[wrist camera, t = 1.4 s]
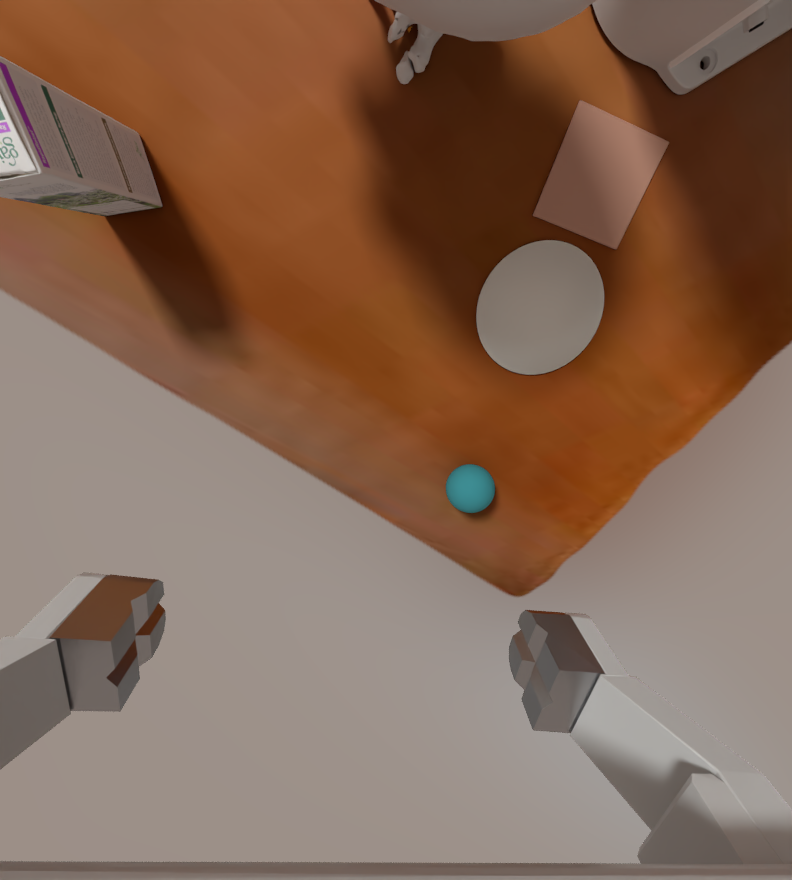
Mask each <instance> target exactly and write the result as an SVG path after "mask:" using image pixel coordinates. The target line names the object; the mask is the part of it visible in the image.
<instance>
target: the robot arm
mask: <svg viewBox="0 0 792 880" xmlns="http://www.w3.org/2000/svg"><path fill="white" fill-rule="evenodd" d="M592 5H593V8H594V11H595V14H596V17H597V19H598V22H599V24H600V26H601V28H602V29H603V31H604V33H605V35H606V36H607V37H608V39H609V40H610V41H611V43H612V44H613V45H614V46H615V47H616V48H617V49H618V50H619V51H620V52H622V53H623V54H624V55H626V56H627V57H629V58H631V59H632V60H634V61H637V62H639V63H642V64H644V65H647V66H649V67H651V68H653V69H654V70H655V71H657V73H658V74H659V75H660V77H661V78H662V80H663V81H664V82H665V84H666V85H667V86H668V87H669V88H670V89H671V90H672V91H673V92H674V93H676V94H679V95H682V94H686V93H688V92H690V91H691V90H693V89H695V88H696V87H698V86H700V85H701V84H703V83H704V82H706V81H708V80H709V79H711V78H713V77H714V76H716V75H717V74H719V73H721V72H722V71H724V70H725V69H727V68H729V67H730V66H732V65H734V64H735V63H737V62H738V61H740V60H742V59H743V58H745V57H746V56H748V55H750V54H751V53H753V52H755V51H756V50H758V49H759V48H761V47H763V46H764V45H766V44H767V43H769V42H771V41H772V40H774V39H776V38H777V37H779V36H780V35H782V34H784V33H785V32H787V31H788V30H790V29H792V0H596V1H595V2H593V3H592ZM700 61H702V62H703V63H704V68H703V70H702V69H701V68H700ZM163 595H164V588H163V582H162V581H160V580H155V579H147V578H137V577H128V576H119V575H104V574H94V573H82V574H80V575H77V576H76V577H74V579H73V580H71V582H69V583H68V584H67V585H66V587H65V588H63V589H62V590H61V591H60V592H59V593H58V594H57V595H56V596H55V597H54V598H53V599H52V600H51V601H50V602H49V603H48V604H47V605H46V606H45V607H44V608H43V609H42V610H41V611H40V612H39V613H38V614H37V615H36V616H35V617H34V618H33V619H32V620H31V621H30V622H29V623H28V624H27V625H26V626H25V627H24V628H23V629H22V630H21V631H20V632H19V633H18V634H17V635H16V636H15V637H11V636H5V637H3V638H1V639H0V769H2V768H3V767H4V766H5V765H7V764H8V763H9V762H10V761H12V760H13V759H14V758H15V757H17V756H18V755H19V754H20V753H21V752H23V751H24V750H25V749H27V748H28V747H29V746H31V745H32V744H33V743H34V742H36V741H37V740H38V739H39V738H41V737H42V736H43V735H44V734H46V733H47V732H48V731H50V730H51V729H52V728H53V727H55V726H56V725H57V724H58V723H60V722H61V721H62V720H63V719H65V718H66V717H67V716H69V715H70V714H71V711H119V712H120V711H121V709H122V708H123V706H124V704H125V703H126V701H127V699H128V698H129V696H130V694H131V693H132V691H133V689H134V687H135V686H136V684H137V682H138V681H139V679H140V676H139V666H141V665H142V664H143V663H145V662H146V661H148V660H150V659H151V658H152V657H153V655H154V653H155V651H156V649H157V648H158V646H159V643H160V640H161V637H162V635H163V632H164V627H165V620H166V617H165V610H164V609H163V607H162V606H161V605H160V604H159V601H160V599H161V598H162V597H163ZM518 624H519V626H520V628H521V630H520V631H519V632H518V633H517V634H515V635H514V636H513V637H512V640H511V643H510V646H509V662H510V667H511V671H512V674H513V677H514V680H515V681H516V682H517V683H518V684H519V685H520V686H521V687H522V688H523V689H524V693H523V697H522V702H523V705H524V707H525V710H526V713H527V715H528V718H529V721H530V724H531V726H532V729H533V730H537V731H550V732H562V733H571V734H570V736H571V737H572V738H573V739H574V740H575V742H576V743H577V744H578V745H579V746H580V748H581V749H582V750H583V751H584V752H585V753H586V755H587V756H588V757H589V758H590V759H591V760H592V762H593V763H594V764H595V765H596V766H597V767H598V768H599V770H600V771H601V772H602V773H603V774H604V776H605V777H606V778H607V779H608V780H609V781H610V783H611V784H612V785H613V786H614V787H615V788H616V789H617V791H618V792H619V793H620V794H621V795H622V797H623V798H624V799H625V800H626V801H627V802H628V804H629V805H630V806H631V807H632V808H633V809H634V811H635V812H636V813H637V814H638V815H639V816H640V817H641V819H642V820H643V821H644V822H645V823H646V825H647V826H648V827H649V828H650V829H651V830H652V831H651V833H650V834H649V835H648V837H647V838H646V840H645V841H644V842H643V844H642V845H641V847H640V849H639V852H638V858H639V860H640V863H641V864H595V863H579V864H578V863H573V864H572V863H341V862H340V863H339V862H336V863H334V862H331V863H330V862H323V863H322V862H313V863H312V862H23V861H21V862H20V861H18V862H16V861H14V862H13V861H7V862H6V861H0V880H792V809H791V808H790V807H789V806H788V804H787V803H786V802H785V800H784V799H783V798H782V797H781V795H780V794H779V793H778V792H777V790H776V789H775V788H774V787H773V785H772V784H771V783H770V782H769V780H768V779H767V778H766V777H765V775H764V774H763V773H761V772H760V771H759V770H757V769H756V768H755V767H753V766H752V765H751V764H750V763H748V762H747V761H746V760H744V759H743V758H742V757H740V756H739V755H738V754H736V753H735V752H734V751H733V750H731V749H730V748H729V747H727V746H726V745H725V744H723V743H722V742H720V741H719V740H718V739H717V738H716V737H714V736H713V735H711V734H710V733H709V732H707V731H706V730H705V729H704V728H702V727H701V726H700V725H698V724H697V723H696V722H695V721H693V720H692V719H691V718H689V717H688V716H687V715H685V714H684V713H683V712H681V711H680V710H679V709H677V708H676V707H675V706H673V705H672V704H671V703H670V702H668V701H667V700H666V699H664V698H663V697H662V696H660V695H659V694H658V693H657V692H655V691H654V690H652V689H651V688H650V687H649V686H647V685H646V684H645V683H643V682H642V681H641V680H639V679H638V678H637V677H633V676H629V675H628V673H627V672H626V670H625V669H624V667H623V666H622V664H621V663H620V661H619V660H618V658H617V657H616V655H615V654H614V652H613V651H612V649H611V648H610V646H609V645H608V643H607V642H606V640H605V639H604V637H603V636H602V634H601V633H600V631H599V630H598V628H597V627H596V625H595V624H594V622H593V621H592V619H591V618H590V617H589V616H587V615H586V614H576V613H560V612H546V611H532V610H525V611H524V612H523V613H522V614H521V615H520V618H519V621H518Z"/></svg>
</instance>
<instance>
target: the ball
mask: <svg viewBox="0 0 792 880" xmlns="http://www.w3.org/2000/svg"><path fill="white" fill-rule="evenodd" d="M446 493H447V497H448V499H449V501H450V502H451V504H452V505H453V506H454V507H455V508H457V509H458V510H460V511H463V512H466V513H476V512H479V511H482V510H483V509H485V508H486V507H487V506H488V505H489V504H490V503H491V502H492V500H493V497H494V494H495V484H494V481H493V478H492V477H491V475H490V474H489V473H488V472H487V471H486V470H485V469H484V468H482V467H480V466H477V465H473V464H467V465H462V466H460V467H458V468H456V469H455V470H454V471H453V472H452V473H451V474H450V475H449V477H448V480H447V483H446Z"/></svg>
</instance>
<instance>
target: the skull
mask: <svg viewBox="0 0 792 880" xmlns="http://www.w3.org/2000/svg"><path fill="white" fill-rule="evenodd" d="M374 1H376V2H378V3H380V4H383V5H384V6H386V7H388V8H390V9H392V10H395V11H397V12H396V14H395V20H394V23H393V24H392V25H391V26H390V29H389V32H388V42H389V43H392V42H393V41H394V40H397V39H399V38H400V37H403V35H404V32H405V31H406V29H408V32H409V31H410V30H411V27H409V26H410V25H412V24H417V25H418V36H417V39H416V41H415V42H414V45H413V46H411V49H410V51H406V52H405V53H404V56H403V58H402V59H401V61H400V63H399V64H398V65H397V67H396V74H397V78H398V80H399V81H400V82H401V83H402V84H408V83H409V81H410V80H411V79H412V78H413V76H414V71H413V67H412V64H411V61H412V63H413V66H414V70H415V72H416V73H421V72H423V71H424V70H425V67H426V65H427V64H428V62H429V59H430V55H431V52H432V49H433V47H434V45H435V44H436V42H437V41H438V40H439V38H440V37H441V36H442V35H443V34H448V35H453V36H457V37H461V38H464V39H467V40H470V41H505V40H512V39H517V38H520V37H525V36H530V35H535V34H539V33H542V32H544V31H546V30H549V29H551V28H553V27H555V26H557V25H559V24H561V23H563V22H564V21H566V20H568V19H570V18H572V17H574V16H576V15H578V14H579V13H581V12H582V11H583V10H584V9H586V8H587V7H588V6H589V5H591V4H592V3H593V2H595V1H596V0H374ZM408 27H409V28H408ZM418 56H419V57H418Z"/></svg>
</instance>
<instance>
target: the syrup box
mask: <svg viewBox="0 0 792 880" xmlns="http://www.w3.org/2000/svg"><path fill="white" fill-rule="evenodd" d="M0 197H4V198H9V199H14V200H20V201H26V202H32V203H37V204H42V205H47V206H52V207H58V208H63V209H68V210H73V211H79V212H84V213H90V214H95V215H101V216H110V215H116V214H122V213H128V212H133V211H140V210H147V209H153V208H160V207H162V202H161V199H160V196H159V193H158V189H157V186H156V183H155V180H154V177H153V174H152V171H151V168H150V165H149V162H148V159H147V156H146V153H145V150H144V147H143V144H142V141H141V138H140V135H139V134H138V133H137V132H136V131H134V130H132V129H130V128H129V127H127V126H125V125H123V124H121V123H119V122H118V121H116V120H114V119H112V118H110V117H109V116H107V115H105V114H103V113H101V112H100V111H98V110H96V109H94V108H92V107H91V106H89V105H87V104H85V103H83V102H82V101H80V100H78V99H76V98H74V97H73V96H71V95H69V94H67V93H65V92H64V91H62V90H60V89H58V88H57V87H55V86H53V85H51V84H49V83H48V82H46V81H44V80H42V79H41V78H39V77H37V76H35V75H33V74H32V73H30V72H28V71H26V70H25V69H23V68H21V67H19V66H18V65H16V64H14V63H12V62H10V61H8V60H7V59H5V58H3V57H1V56H0Z"/></svg>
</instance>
